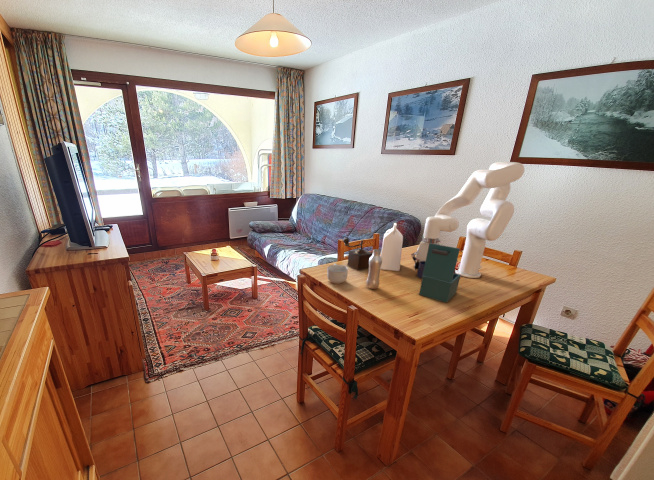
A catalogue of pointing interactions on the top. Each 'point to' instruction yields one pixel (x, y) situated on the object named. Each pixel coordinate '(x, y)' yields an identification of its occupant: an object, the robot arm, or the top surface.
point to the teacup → (337, 273)
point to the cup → (420, 269)
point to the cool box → (439, 288)
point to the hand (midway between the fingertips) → (423, 270)
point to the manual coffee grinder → (358, 256)
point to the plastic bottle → (374, 269)
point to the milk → (392, 249)
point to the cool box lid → (441, 262)
